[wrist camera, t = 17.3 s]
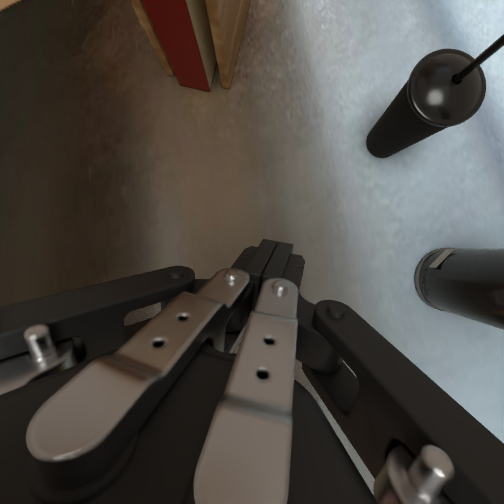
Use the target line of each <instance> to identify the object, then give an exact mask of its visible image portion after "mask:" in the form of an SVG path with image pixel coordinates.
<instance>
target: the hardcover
mask: <svg viewBox="0 0 504 504" xmlns="http://www.w3.org/2000/svg"><path fill="white" fill-rule="evenodd" d="M142 1H143V3H144V5H145V7H146V10H147V12H148V14H149V16H150V19H151V21H152V23H153V25H154V28H155V30H156V32H157V34H158V37H159V39H160V41H161V43H162V45H163V48H164V50H165V52H166V54H167V57H168V59H169V61H170V63H171V66H172V68H173V70H174V72H175V75H176V77H177V79H178V81H179V84H180V85H183V86H187V87H192V88H196V89H201V90H205V91H210V87H211V83H212V79H213V74H214V70H215V65H216V61H217V58H216V53H215V48H214V43H213V37H212V32H211V27H210V22H209V17H208V12H207V6H206V1H205V0H142Z"/></svg>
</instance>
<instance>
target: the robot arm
mask: <svg viewBox="0 0 504 504" xmlns="http://www.w3.org/2000/svg"><path fill="white" fill-rule="evenodd" d="M292 251H293V244H289V243H283V242H278V241H272V240H267V239H263V240H262V242H261V243H260V245H259V246H258V247H254V246H251V247H249V248H246V249H244V251H243V252H242V253H241V255H240V256H239V257H238V259H237V260H236V261H235V263H234V264H233V265H232V267H231V268H226V269H222V270H220V271H218V272H217V273H216V274H215V275H214V276H213V277H212V278H211V279H195V272H194V271H193V270H192V269H190V268H188V267H184V266H173V267H168V268H164V269H159V270H155V271H151V272H147V273H142V274H138V275H134V276H130V277H125V278H121V279H117V280H113V281H108V282H104V283H100V284H96V285H91V286H87V287H83V288H79V289H74V290H70V291H66V292H62V293H57V294H53V295H49V296H45V297H40V298H36V299H32V300H28V301H23V302H19V303H15V304H11V305H6V306H2V307H0V504H504V444H503V443H502V442H501V441H500V440H499V439H498V438H497V437H495V436H494V435H493V434H492V433H491V432H490V431H489V430H488V429H486V428H485V427H484V426H483V425H482V424H481V423H480V422H479V421H477V420H476V419H475V418H474V417H473V416H472V415H471V414H470V413H468V412H467V411H466V410H465V409H464V408H463V407H462V406H461V405H459V404H458V403H457V402H456V401H455V400H454V399H453V398H452V397H450V396H449V395H448V394H447V393H446V392H445V391H444V390H443V389H441V388H440V387H439V386H438V385H437V384H436V383H435V382H434V381H432V380H431V379H430V378H429V377H428V376H427V375H426V374H425V373H423V372H422V371H421V370H420V369H419V368H418V367H417V366H416V365H414V364H413V363H412V362H411V361H410V360H409V359H408V358H407V357H405V356H404V355H403V354H402V353H401V352H400V351H399V350H398V349H396V348H395V347H394V346H393V345H392V344H391V343H390V342H389V341H387V340H386V339H385V338H384V337H383V336H382V335H381V334H379V333H378V332H377V331H376V330H375V329H374V328H373V327H372V326H370V325H369V324H368V323H367V322H366V321H365V320H364V319H363V318H361V317H360V316H359V315H358V314H357V313H356V312H355V311H354V310H352V309H351V308H350V307H349V306H347V305H345V304H343V303H341V302H338V301H334V300H323V301H320V302H318V303H317V304H316V305H314V304H312V303H310V302H308V301H307V300H305V299H304V298H303V297H302V296H301V295H300V293H299V290H300V285H301V280H302V275H303V270H304V264H305V260H304V259H303V257H302V256H300V255H295V254H292ZM415 285H416V289H417V292H418V294H419V296H420V297H421V298H422V300H423V301H424V302H425V303H427V304H428V305H429V306H431V307H433V308H435V309H439V310H442V311H447V312H450V313H453V314H456V315H459V316H462V317H465V318H469V319H472V320H475V321H478V322H481V323H484V324H488V325H491V326H494V327H497V328H500V329H503V330H504V249H455V248H442V249H437V250H434V251H432V252H430V253H429V254H427V255H426V256H425V257H424V258H423V259H422V260H421V262H420V263H419V265H418V267H417V270H416V274H415ZM159 302H161V311H160V312H159V313H158V314H157V315H156V316H155V317H153V318H150V319H147V320H144V321H141V322H138V323H135V324H132V325H129V326H124V318H125V316H126V315H127V314H128V313H129V312H131V311H133V310H136V309H139V308H143V307H146V306H149V305H152V304H156V303H159ZM246 324H247V325H246ZM245 326H246V328H245ZM241 339H242V340H241ZM240 340H241V343H240V346H239V349H238V352H237V354H236V353H234V351H235V349H236V347H237V346H238V344H239V342H240ZM295 359H297V360H299V361H300V362H302V369H303V372H304V374H305V375H306V377H307V378H308V380H309V381H310V383H311V384H312V386H313V387H314V389H315V390H316V392H317V393H318V395H319V396H320V398H321V399H322V401H323V402H324V404H325V405H326V407H327V408H328V410H329V411H330V413H331V414H332V416H333V417H334V419H335V420H336V422H337V423H338V425H339V426H340V428H341V429H342V431H343V432H344V434H345V435H346V437H347V438H348V440H349V441H350V443H351V444H352V446H353V447H354V449H355V450H356V452H357V453H358V455H359V456H360V458H361V459H362V461H363V462H364V464H365V465H366V467H367V468H368V470H369V471H370V473H371V474H372V476H373V477H374V479H375V481H374V490H373V491H374V496H373V494H372V493H371V491H370V489H369V488H368V486H367V484H366V483H365V481H364V479H363V478H362V476H361V474H360V473H359V471H358V469H357V468H356V466H355V464H354V463H353V461H352V459H351V458H350V456H349V454H348V453H347V451H346V449H345V448H344V446H343V444H342V443H341V441H340V439H339V438H338V436H337V435H336V433H335V431H334V430H333V428H332V426H331V425H330V423H329V421H328V420H327V418H326V416H325V415H324V413H323V411H322V410H321V408H320V406H319V405H318V403H317V402H316V400H315V399H314V398H313V396H312V395H311V394H310V393H309V392H308V391H307V390H306V389H305V388H304V387H303V386H302V385H301V384H300V383H299V382H297V381H296V380H294V371H295ZM343 360H344V361H345V362H346V364H347V365H348V366H349V367H350V368H351V369H352V371H353V372H354V373H355V375H356V377H357V378H356V377H355V375H354V374H353V373H352V372H351V371H350V370H349V368H348V367H347V366H346V365H345V364H344V363H343Z"/></svg>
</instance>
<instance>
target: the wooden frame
mask: <svg viewBox="0 0 504 504" xmlns="http://www.w3.org/2000/svg"><path fill="white" fill-rule="evenodd" d="M205 1H206V6H207V12H208V17H209V22H210V27H211V32H212V37H213V43H214V48H215V53H216V58H217V63H218V69H219V74H220V79H221V84H222V88H226V89H230V86H231V82H232V77H233V73H234V69H235V65H236V60H237V56H238V52H239V48H240V43H241V39H242V35H243V30H244V26H245V22H246V18H247V13H248V9H249V5H250V1H251V0H205ZM130 2H131V4H132V6H133V8H134V10H135V12H136V14H137V16H138V18H139V20H140V22H141V24H142V26H143V28H144V30H145V32H146V34H147V36H148V38H149V40H150V42H151V44H152V46H153V48H154V50H155V52H156V54H157V56H158V58H159V60H160V62H161V64H162V66H163V68H164V70H165V72H166V74H167V75H171V76H174V74H175V72H174V70H173V68H172V66H171V63H170V61H169V59H168V57H167V54H166V52H165V50H164V48H163V45H162V43H161V41H160V39H159V37H158V34H157V32H156V30H155V28H154V25H153V23H152V21H151V19H150V16H149V14H148V12H147V10H146V7H145V5H144V3H143V1H142V0H130Z"/></svg>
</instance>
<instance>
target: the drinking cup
mask: <svg viewBox="0 0 504 504" xmlns="http://www.w3.org/2000/svg"><path fill="white" fill-rule="evenodd" d="M502 46H504V34H503V35H502V36H501V37H500V38H499V39H497V40H496V41H495V42H494V43H493V44H492V45H491V46H489V47H488V48H487V49H486V50H485V51H484V52H482V53H481V54H480V55H479V56H478V57H477V58H476V59H474V58H473V57H471V56H470V55H468V54H467V53H465V52H463V51H460V50H456V49H441V50H437V51H434V52H432V53H430V54H428V55H426V56H425V57H424V58H422V59H421V60H420V61H419V62H418V64H417V65H416V66H415V67H414V69H413V70H412V72H411V74H410V77H409V80H408V81H407V82H406V84H405V85H404V86H403V88H402V89H401V90H400V92H399V93H398V95H397V96H396V97H395V99H394V100H393V101H392V103H391V104H390V105H389V107H388V108H387V109H386V111H385V112H384V114H383V115H382V116H381V118H380V119H379V120H378V122H377V123H376V124H375V126H374V127H373V128H372V130H371V131H370V132H369V134H368V136H367V140H366V144H367V148H368V150H369V152H370V153H371V154H372V155H374V156H376V157H379V158H386V157H389V156H391V155H393V154H395V153H397V152H399V151H401V150H403V149H405V148H407V147H409V146H411V145H413V144H415V143H417V142H419V141H421V140H423V139H425V138H427V137H429V136H431V135H433V134H435V133H437V132H439V131H441V130H443V129H445V128H447V127H450V126H455V125H458V124H461V123H463V122H464V121H466V120H468V119H469V118H470V117H472V116H473V115H474V114H475V113H476V112H477V111H478V109H479V108H480V106H481V104H482V102H483V100H484V97H485V93H486V80H485V76H484V73H483V70H482V68H481V67H480V64H482V63H483V62H484V61H485V60H487V59H488V58H489V57H490V56H491V55H493V54H494V53H495V52H496V51H498V50H499V49H500V48H501V47H502Z"/></svg>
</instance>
